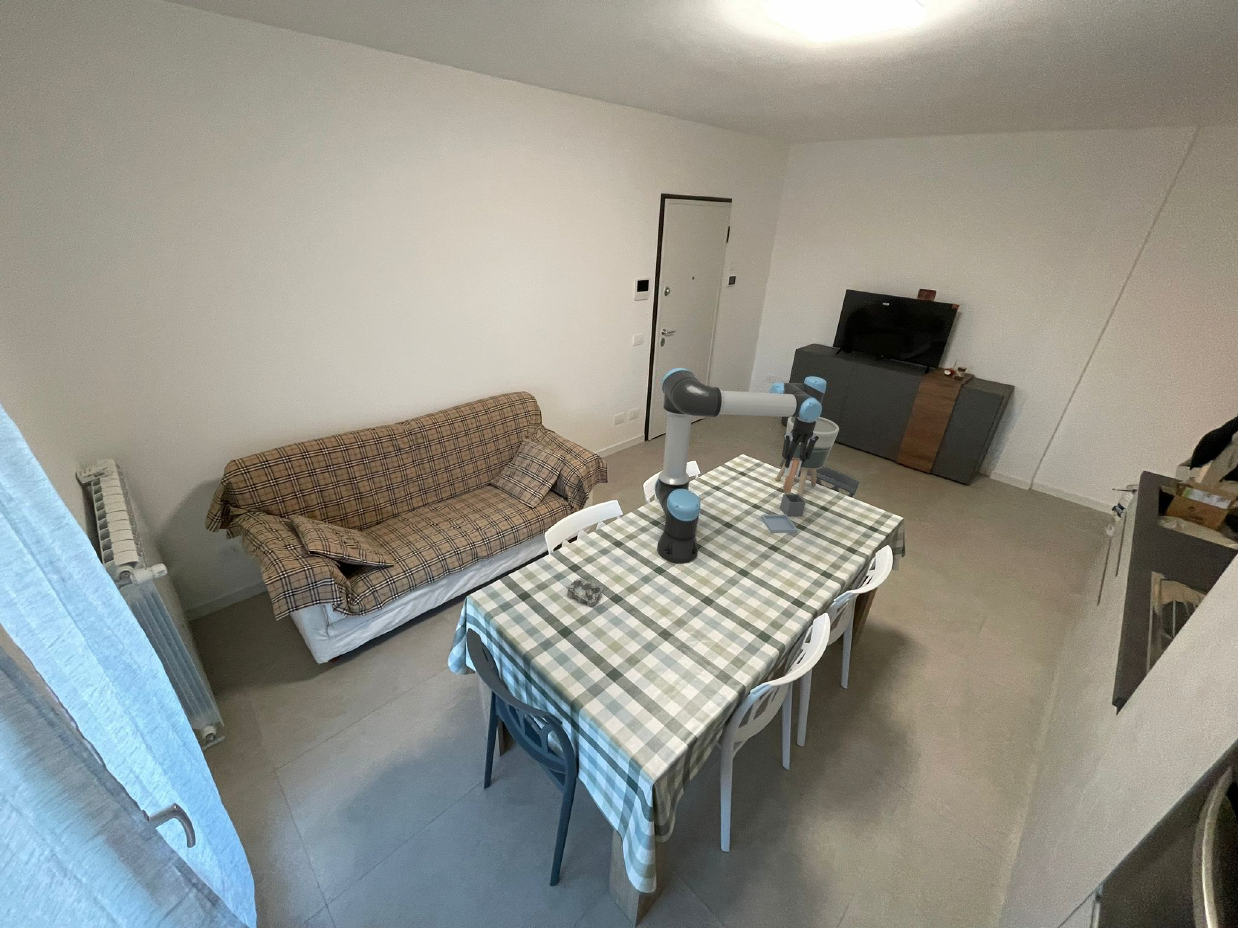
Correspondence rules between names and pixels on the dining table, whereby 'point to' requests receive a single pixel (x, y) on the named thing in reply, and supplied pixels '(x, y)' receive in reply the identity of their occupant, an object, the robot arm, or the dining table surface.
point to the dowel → (791, 476)
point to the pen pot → (792, 505)
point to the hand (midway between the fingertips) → (791, 474)
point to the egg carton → (588, 593)
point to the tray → (779, 524)
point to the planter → (820, 451)
